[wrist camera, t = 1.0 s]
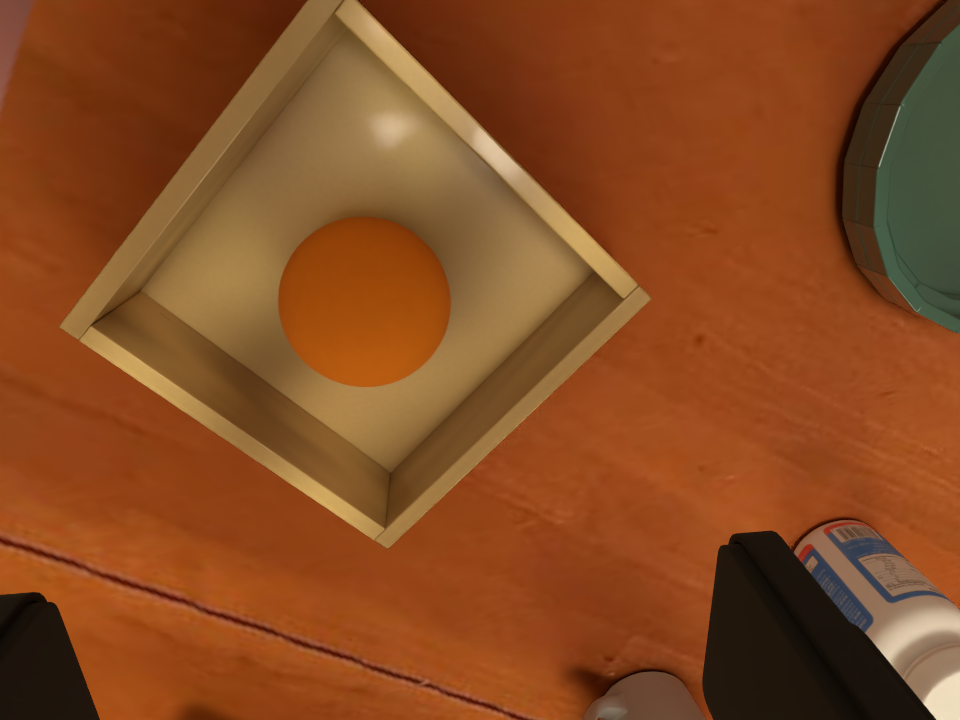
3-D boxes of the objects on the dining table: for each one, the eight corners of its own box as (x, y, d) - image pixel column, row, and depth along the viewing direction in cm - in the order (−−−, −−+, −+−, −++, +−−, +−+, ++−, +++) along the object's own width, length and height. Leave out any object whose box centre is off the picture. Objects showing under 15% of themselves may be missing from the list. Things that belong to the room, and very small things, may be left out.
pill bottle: (819, 606, 38) (939, 763, 29) (769, 559, 37) (879, 710, 28) (897, 550, 37) (1046, 696, 28) (848, 498, 36) (990, 637, 27)
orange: (264, 284, 28) (219, 338, 22) (362, 169, 26) (343, 193, 20) (382, 376, 30) (370, 449, 24) (479, 275, 28) (492, 325, 22)
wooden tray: (120, 287, 28) (58, 327, 23) (347, -6, 24) (328, -29, 20) (393, 484, 33) (387, 550, 28) (617, 265, 29) (652, 298, 25)
